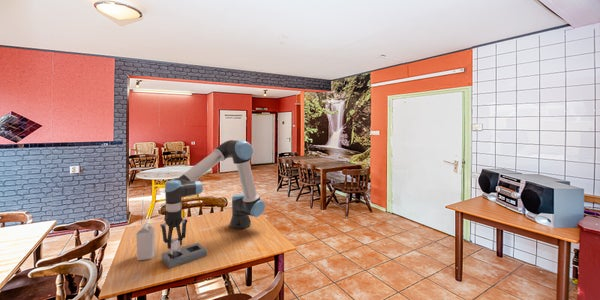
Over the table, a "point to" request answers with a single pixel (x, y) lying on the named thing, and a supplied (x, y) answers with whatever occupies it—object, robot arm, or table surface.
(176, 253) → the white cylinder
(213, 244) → the table surface
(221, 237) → the table surface
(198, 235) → the table surface
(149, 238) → the milk carton
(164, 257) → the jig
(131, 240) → the table surface
